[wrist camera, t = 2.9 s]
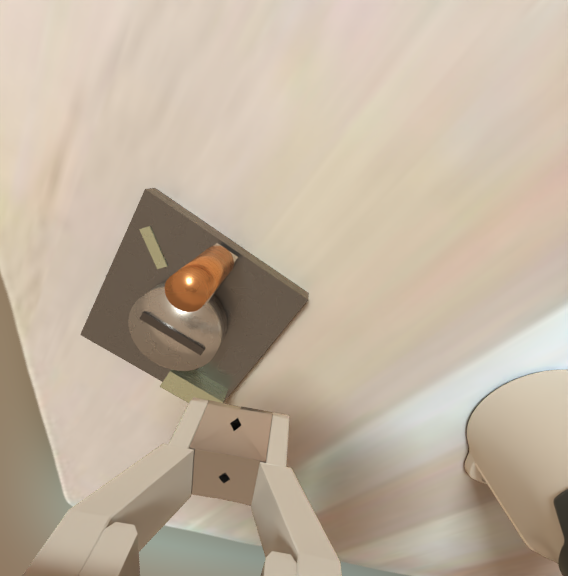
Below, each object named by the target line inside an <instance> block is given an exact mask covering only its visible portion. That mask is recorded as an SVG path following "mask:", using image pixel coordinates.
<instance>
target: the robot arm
mask: <svg viewBox="0 0 568 576" xmlns="http://www.w3.org/2000/svg"><path fill="white" fill-rule="evenodd" d="M289 419H290V418H289V415H285V414H279V413H274V412H273V413H272V412H269V411H263V410H258V409H252V408H246V407H239V406H234V405H229V404H225V403H220V402H215V401H211V400H210V401H209V400H205V399H200V398H195V397H193V398H192V400H191V401H190V402H189V404H188V406H187V408H186V410H185V412H184V414H183V416H182V418H181V420H180V422H179V424H178V426H177V428H176V430H175V432H174V434H173V436H172V438H171V440H170V442H169V444H162V445H160V446H159V447H158V448H156V449H155V450H153V451H152V452H150V453H149V454H148V455H146V456H145V457H143V458H142V459H141V460H139V461H138V462H136V463H135V464H133V465H132V466H131V467H129V468H128V469H126V470H125V471H123V472H122V473H121V474H119V475H118V476H116V477H115V478H114V479H112V480H111V481H109V482H108V483H106V484H105V485H104V486H102V487H101V488H99V489H98V490H96V491H95V492H94V493H92V494H91V495H89V496H88V497H86V498H85V499H84V500H82V501H81V502H79V503H78V504H77V505H75V506H74V507H72V508H71V509H69V510H68V512H67V513H66V515H65V516H64V517H63V519H62V520H61V522H60V523H59V524H58V526H57V527H56V529H55V530H54V532H53V533H52V535H51V536H50V537H49V539H48V540H47V542H46V543H45V544H44V546H43V547H42V549H41V550H40V551H39V553H38V554H37V556H36V557H35V558H34V560H33V561H32V563H31V564H30V566H29V567H28V568H27V570H26V571H25V573H24V574H23V575H22V576H140V566H139V551H140V550H141V549H142V548H143V547H144V546H145V545H146V544H147V542H149V541H150V540H151V538H152V537H153V536H154V535H155V534H156V533H157V532H158V531H159V530H160V529H161V528H162V527H163V526H164V525H165V524H166V523H167V522H168V520H169V519H170V518H171V517H172V516H173V515H174V514H175V513H176V512H177V511H178V510H179V509H180V508H181V507H182V505H183V504H184V503H185V502H186V501H187V500H188V499H189V498H190V497H191V494H193V495H199V496H205V497H212V498H218V499H224V500H228V501H233V502H237V503H242V504H246V505H251V509H252V513H253V516H254V519H255V523H256V526H257V530H258V533H259V536H260V540H261V543H262V547H263V550H264V553H265V557H266V559H265V562H264V566H263V570H262V573H261V576H342V574H341V564H340V560H339V559H338V557H337V555H336V553H335V551H334V549H333V547H332V545H331V543H330V541H329V539H328V537H327V535H326V533H325V532H324V530H323V528H322V526H321V524H320V522H319V520H318V518H317V516H316V514H315V512H314V510H313V508H312V506H311V505H310V503H309V501H308V499H307V497H306V495H305V493H304V491H303V489H302V487H301V485H300V483H299V481H298V479H297V478H296V476H295V474H294V472H293V470H292V468H290V467H286V465H287V450H288V434H289ZM467 440H468V444H469V454H468V456H467V459H466V461H465V470H466V471H467V473H468V474H469V476H470V477H471V478H472V479H474V480H476V481H479V482H481V483H484V484H486V485H488V486H489V487H490V489H491V491H492V492H493V494H494V495H495V497H496V499H497V500H498V502H499V503H500V505H501V507H502V508H503V510H504V511H505V513H506V514H507V516H508V518H509V519H510V521H511V522H512V524H513V525H514V527H515V529H516V530H517V532H518V533H519V535H520V536H521V538H522V539H523V541H524V542H525V544H526V545H527V546H528V547H529V548H530V549H531V550H532V551H535V552H537V553H539V554H540V555H542V556H543V557H545V558H547V559H550V560H552V561H554V562H556V563H557V564H559V569H560V571H561V573H562V575H563V576H568V370H550V371H543V372H538V373H534V374H530V375H527V376H524V377H521V378H518V379H516V380H513V381H511V382H509V383H507V384H505V385H503V386H501V387H500V388H498V389H497V390H495V391H494V392H492V393H491V394H490V395H488V396H487V397H486V398H485V399H484V400H483V401H482V402H481V403H480V404H479V405H478V406H477V408H476V409H475V410H474V412H473V414H472V415H471V417H470V420H469V423H468V426H467Z"/></svg>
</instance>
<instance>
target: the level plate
mask: <svg viewBox="0 0 568 576" xmlns="http://www.w3.org/2000/svg"><path fill="white" fill-rule="evenodd" d="M216 243H218V244H220V245H221V246H223V247H224V248H226V249H227V250H228V251H230V252H231V253H233V254H234V255H236V256H237V257H238V258H237V260H236V262H235V263H234V266H233V269H232V271H231V272H230V273H229V274H228V276H227V277H226V278H225V279H224V280H223V282H222V283H221V285H220V286H219V288H218V289H217V291H216V292H215V294H214V295H215V296H216V297H217V299H218V300H219V301H220V303H221V304H222V306H223V308H224V310H225V313H226V317H227V331H226V334H225V337H224V339H223V341H222V343H221V345H220V346H219V348H218V350H217V352H216V354H215V356H214V357H213V358H212V360H211V361H210V362H208V363H207V364H206V365H204V366H203V367H200V368H198V369H195V370H189V371H177V370H171V369H168V368H165V367H162V366H160V365H158V364H156V363H154V362H153V361H151V360H150V359H148V358H147V357H146V356H145V355H144V354H143V353H142V352H141V351H140V350H139V349H138V348H137V346H136V345H135V343H134V341H133V339H132V337H131V334H130V331H129V324H128V320H129V314H130V311H131V308H132V307H133V305H134V303H135V302H136V301H137V300H138V299H139V298H141V297H142V296H143V295H145V294H146V293H147V292H149V291H150V290H151V289H153V288H154V287H156V286H157V285H159V284H160V283H162V282H165V281H167V279H168V278H169V277H170V276H172V275H173V274H174V273H176V272H177V271H178V270H180V269H181V268H182V267H184V266H185V265H186V264H188V263H189V262H190V261H192V260H193V259H194V258H196V257H197V256H198V255H200V254H201V253H202V252H204V251H205V250H206V249H208V248H209V247H211V246H214V245H215V244H216ZM307 301H308V292H306V291H305V290H303V289H302V288H300V287H299V286H297V285H296V284H295V283H293V282H292V281H290V280H289V279H287V278H286V277H284V276H283V275H281V274H280V273H278V272H277V271H276V270H274V269H273V268H271V267H270V266H268V265H267V264H265V263H264V262H262V261H261V260H259V259H258V258H257V257H255V256H254V255H252V254H251V253H249V252H248V251H246V250H245V249H243V248H242V247H240V246H239V245H238V244H236V243H235V242H233V241H232V240H230V239H229V238H227V237H226V236H224V235H223V234H221V233H220V232H219V231H217V230H216V229H214V228H213V227H211V226H210V225H208V224H207V223H205V222H204V221H202V220H201V219H200V218H198V217H197V216H195V215H194V214H192V213H191V212H189V211H188V210H186V209H185V208H183V207H182V206H181V205H179V204H178V203H176V202H175V201H173V200H172V199H170V198H169V197H167V196H166V195H164V194H163V193H162V192H160V191H159V190H157V189H156V188H150V189H145V191H144V193H143V195H142V197H141V200H140V202H139V204H138V206H137V209H136V211H135V213H134V215H133V218H132V220H131V222H130V224H129V227H128V229H127V231H126V233H125V236H124V238H123V240H122V242H121V245H120V247H119V249H118V251H117V254H116V256H115V258H114V260H113V263H112V265H111V267H110V269H109V272H108V274H107V276H106V278H105V281H104V283H103V285H102V287H101V290H100V292H99V294H98V296H97V299H96V301H95V303H94V305H93V308H92V310H91V312H90V314H89V317H88V319H87V321H86V323H85V326H84V328H83V330H82V332H81V334H80V335H82V336H84V337H85V338H87V339H89V340H91V341H92V342H94V343H96V344H98V345H99V346H101V347H103V348H105V349H106V350H108V351H110V352H112V353H113V354H115V355H117V356H119V357H120V358H122V359H124V360H126V361H127V362H129V363H131V364H133V365H134V366H136V367H138V368H139V369H141V370H143V371H145V372H146V373H148V374H150V375H152V376H153V377H155V378H157V379H159V380H160V381H162V384H161V385H160V387H161V388H163V389H165V390H167V391H168V392H170V393H172V394H174V395H175V396H177V397H179V398H181V399H183V400H184V401H186V402H188V403H189V402H190V401H191V400H192V398H193V397H195V398H200V399H205V400H209V401H210V400H211V401H215V402H220V403H223V402H224V401H225V400H226V399H227V398H228V396H229V395H230V394H231V393H232V391H233V390H234V389H235V388H236V387H237V385H238V384H239V383H240V382H241V381H242V379H243V378H244V377H245V376H246V375H247V373H248V372H249V371H250V370H251V369H252V367H253V366H254V365H255V364H256V362H257V361H258V360H259V359H260V358H261V356H262V355H263V354H264V353H265V352H266V350H267V349H268V348H269V347H270V346H271V344H272V343H273V342H274V341H275V339H276V338H277V337H278V336H279V335H280V333H281V332H282V331H283V330H284V329H285V327H286V326H287V325H288V324H289V323H290V321H291V320H292V319H293V318H294V316H295V315H296V314H297V313H298V312H299V310H300V309H301V308H302V307H303V306H304V304H305V303H306V302H307Z"/></svg>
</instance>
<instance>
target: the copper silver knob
mask: <svg viewBox="0 0 568 576" xmlns="http://www.w3.org/2000/svg"><path fill="white" fill-rule="evenodd" d="M237 258H238V257H237V256H236V255H234V254H233V253H231V252H230V251H228V250H227V249H226V248H224V247H223V246H221V245H220V244H218V243H216V244H215V245H214V246H211V247H209V248H208V249H206V250H205V251H204V252H202V253H201V254H200V255H198V256H197V257H196V258H194V259H193V260H192V261H190V262H189V263H188V264H186V265H185V266H184V267H182V268H181V269H180V270H178V271H177V272H176V273H174V274H173V275H172V276H170V277H169V278H168V279H167V281H165V282H162V283H160V284H159V285H157V286H156V287H154V288H153V289H151V290H150V291H149V292H147V293H146V294H145V295H143V296H142V297H141V298H139V299H138V300H137V301H136V302H135V303H134V305H133V307H132V308H131V311H130V314H129V320H128V324H129V331H130V334H131V337H132V339H133V341H134V343H135V345H136V346H137V348H138V349H139V350H140V351H141V352H142V353H143V354H144V355H145V356H146V357H147V358H148V359H150V360H151V361H153V362H154V363H156V364H158V365H160V366H162V367H165V368H168V369H171V370H177V371H189V370H195V369H198V368H200V367H203V366H204V365H206V364H207V363H208V362H210V361H211V360H212V358H213V357H214V356H215V354H216V352H217V350H218V348H219V346H220V345H221V343H222V341H223V339H224V337H225V334H226V331H227V317H226V313H225V310H224V308H223V306H222V304H221V303H220V301H219V300H218V299H217V297H216V296H215V295H214V294H215V292H216V291H217V289H218V288H219V286H220V285H221V283H222V282H223V280H224V279H225V278H226V277H227V276H228V274H229V273H230V272H231V271H232V269H233V266H234V263H235V262H236V260H237Z"/></svg>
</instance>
